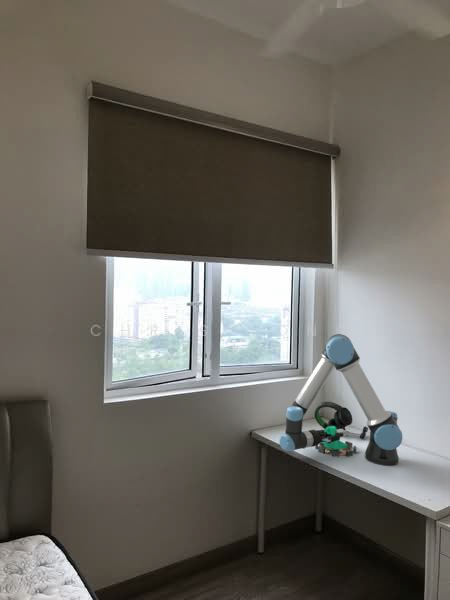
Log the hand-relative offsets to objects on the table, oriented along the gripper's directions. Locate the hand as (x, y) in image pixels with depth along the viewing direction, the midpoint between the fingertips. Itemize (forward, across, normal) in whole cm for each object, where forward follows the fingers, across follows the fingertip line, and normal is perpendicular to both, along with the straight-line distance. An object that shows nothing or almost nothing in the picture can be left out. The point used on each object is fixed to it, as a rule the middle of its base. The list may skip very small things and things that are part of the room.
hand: (344, 432), depth 239 cm
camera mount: (-7, 0, -6) cm, 10 cm away
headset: (+14, -16, -8) cm, 23 cm away
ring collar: (-6, 0, -8) cm, 10 cm away
